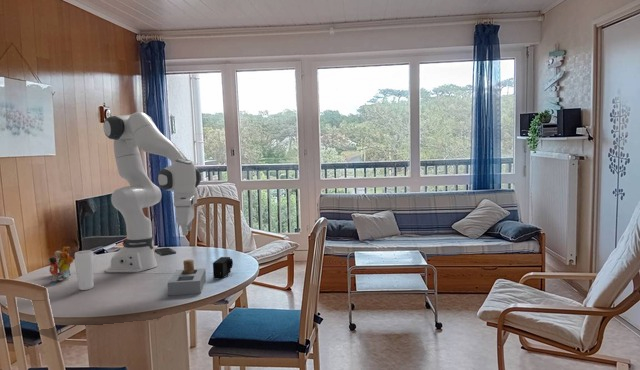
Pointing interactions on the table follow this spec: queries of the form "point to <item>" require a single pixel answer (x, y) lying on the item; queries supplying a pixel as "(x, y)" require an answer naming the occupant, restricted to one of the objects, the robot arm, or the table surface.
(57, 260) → the doll family
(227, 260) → the digital camera
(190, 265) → the walnut dowel
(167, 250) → the phone
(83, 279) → the drinking glass
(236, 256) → the table surface
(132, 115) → the robot arm
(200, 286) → the socket block
